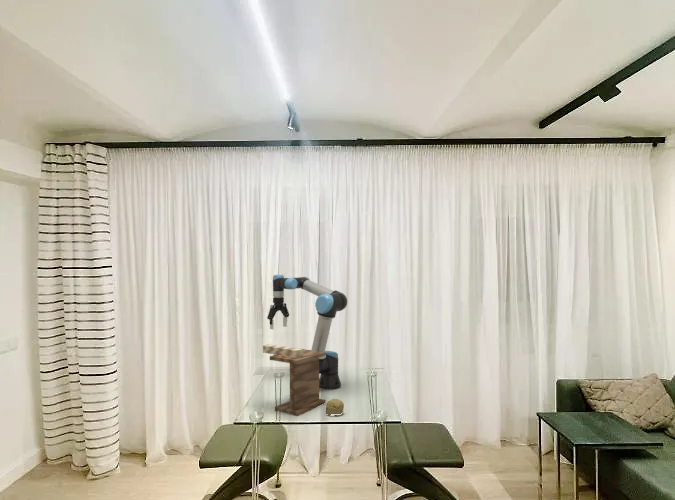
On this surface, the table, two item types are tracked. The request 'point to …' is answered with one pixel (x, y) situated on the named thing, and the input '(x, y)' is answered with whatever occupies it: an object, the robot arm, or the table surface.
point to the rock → (334, 406)
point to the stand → (302, 382)
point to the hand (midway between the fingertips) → (278, 327)
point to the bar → (283, 351)
